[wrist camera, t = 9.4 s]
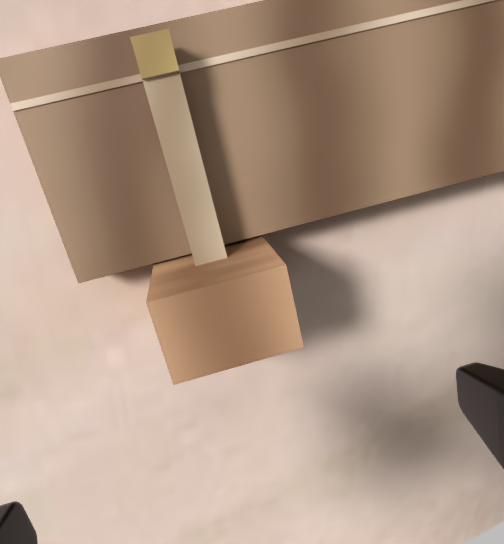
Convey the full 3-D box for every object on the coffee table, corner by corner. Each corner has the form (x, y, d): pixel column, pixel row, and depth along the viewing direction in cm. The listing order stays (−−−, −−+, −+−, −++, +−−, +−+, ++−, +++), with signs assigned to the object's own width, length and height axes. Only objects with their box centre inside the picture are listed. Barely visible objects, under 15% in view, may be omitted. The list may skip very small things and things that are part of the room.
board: (555, -52, 18) (600, -74, 16) (556, 145, 21) (595, 147, 19) (14, 68, 16) (-7, 59, 15) (88, 268, 19) (78, 284, 17)
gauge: (211, 40, 17) (228, -5, 12) (269, 289, 21) (303, 347, 15) (96, 66, 17) (56, 32, 11) (174, 315, 20) (173, 384, 15)
